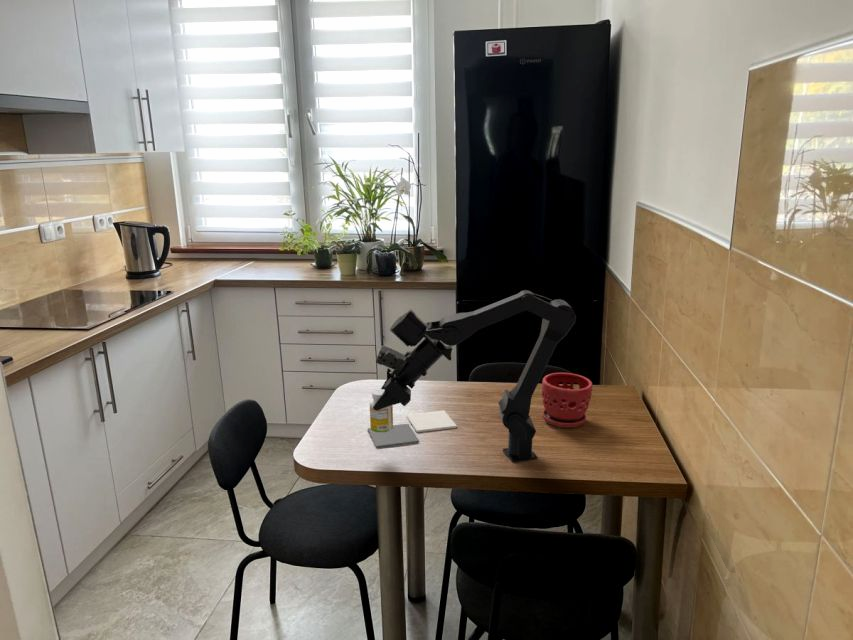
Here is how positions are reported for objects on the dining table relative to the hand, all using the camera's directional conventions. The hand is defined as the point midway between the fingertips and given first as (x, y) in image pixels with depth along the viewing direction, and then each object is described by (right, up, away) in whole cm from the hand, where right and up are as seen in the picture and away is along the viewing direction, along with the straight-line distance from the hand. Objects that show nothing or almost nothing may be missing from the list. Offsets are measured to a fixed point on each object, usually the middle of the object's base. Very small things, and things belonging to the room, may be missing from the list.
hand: (375, 404), depth 151 cm
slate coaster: (+3, -10, +14) cm, 17 cm away
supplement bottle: (+1, -7, +2) cm, 7 cm away
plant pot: (+50, -8, +23) cm, 55 cm away
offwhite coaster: (+13, -8, +23) cm, 27 cm away
